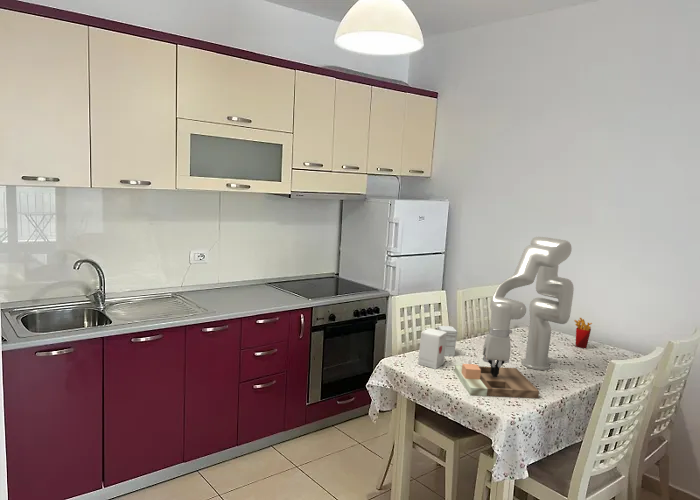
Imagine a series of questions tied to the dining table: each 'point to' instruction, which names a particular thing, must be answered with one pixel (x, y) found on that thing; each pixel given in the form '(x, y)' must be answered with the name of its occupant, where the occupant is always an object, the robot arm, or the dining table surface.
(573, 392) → the dining table surface
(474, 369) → the terracotta block
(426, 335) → the supplement box
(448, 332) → the supplement box
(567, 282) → the robot arm
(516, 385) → the board
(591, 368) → the dining table surface
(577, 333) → the french fries
